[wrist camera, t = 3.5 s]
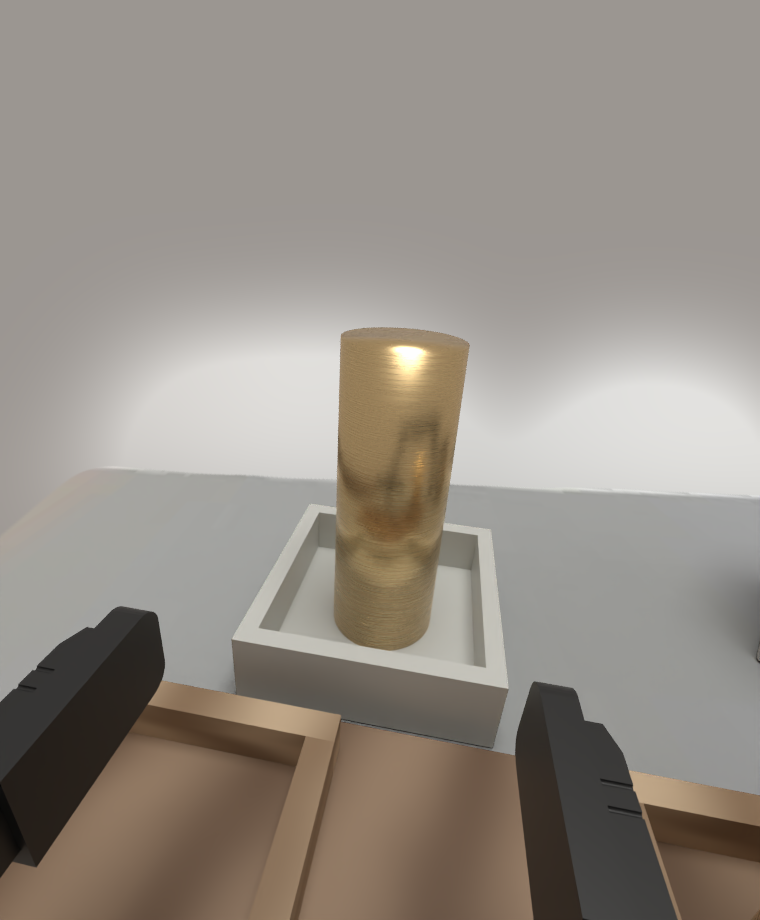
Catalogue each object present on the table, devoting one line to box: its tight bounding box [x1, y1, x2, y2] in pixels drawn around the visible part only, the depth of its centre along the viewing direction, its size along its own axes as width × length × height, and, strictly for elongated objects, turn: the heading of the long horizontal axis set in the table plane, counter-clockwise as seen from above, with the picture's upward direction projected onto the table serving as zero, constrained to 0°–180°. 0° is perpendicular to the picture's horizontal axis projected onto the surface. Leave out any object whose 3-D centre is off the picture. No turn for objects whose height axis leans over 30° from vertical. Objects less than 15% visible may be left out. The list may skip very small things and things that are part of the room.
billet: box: [334, 327, 470, 651], centre depth 21 cm, size 5×5×14 cm
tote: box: [232, 504, 509, 748], centre depth 24 cm, size 11×11×4 cm
